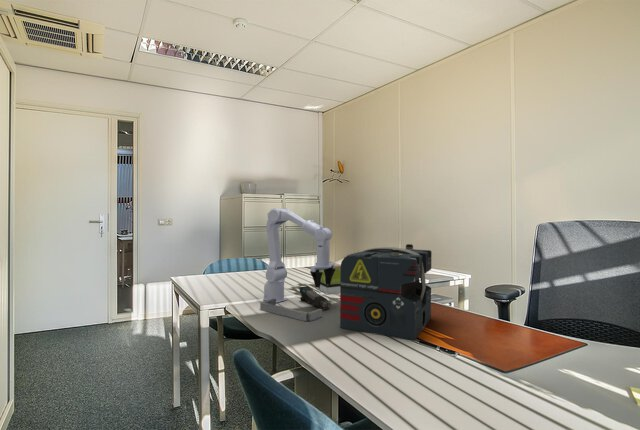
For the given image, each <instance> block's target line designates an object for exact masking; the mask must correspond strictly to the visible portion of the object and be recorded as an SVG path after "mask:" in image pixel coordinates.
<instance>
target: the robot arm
mask: <svg viewBox="0 0 640 430" xmlns="http://www.w3.org/2000/svg"><path fill="white" fill-rule="evenodd" d="M287 221H289V222H291V223H294V224H296V225H298V226H299V227H301V228H302V231H303V232H305V233H307V234H308V235H310V236H312V237H313V238H314V240H315V241H316V263H317V265H316V264H315V265H313V266H311V267H310V272H309V273H310V275H311V277H312V280H313V283H314V287H315V288H316V287H318V288H319V287H320V282H321V276H322V273H323V272H320V271H319V270H324V273H325V282H326V284H328V285H330V284H331V280H332V276H333V274H334V272H335V269H334V263H335V262H334V263H329V262H330V260H331V259H330V254H331V253H330V252H331V251H330V250H331V249H330V248H331V246H330V245H331V244H330V242H331V239H332V237H333V233H332V232H333V231H331V229H330V228H328V227H324V226H323V225H322V224H318V223H316V222H315V220H313V219H311V220H310V219H308V220H305V219H304V218H303V217H301V216H300V215H298V214H296V213H295V212H293V211H292V210H291V209H290V210H289V209H288V208H285V207H284V208H271V209H270V211H269V212H268V213H267V221H266V227H265V228H266V236H267V245H268V256H269V263H268V264H267V265H266V272H265V278H266V280H267V281H266V282H265V283H264V287H263V294H264V295H263V298H262V300H263V301H266V300H270V299H276V304H277V303H281V302H284V301H288V300H289V298H286V297H285V279H286V278H287V277H288V276H287V275H288V271H287V269H286V266H285V265H286V264H285V263H284V262H283V260H282V257H281V256H282V255H281V253H282V252H281V245H280V235H279V228H280V227H281V226H282V225H283V224H285V223H286V222H287Z"/></svg>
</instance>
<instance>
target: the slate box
mask: <svg viewBox="0 0 640 430" xmlns="http://www.w3.org/2000/svg"><path fill="white" fill-rule="evenodd" d="M259 307H260V308H259V309H260V311H264V312H266V313H267V312H268V313H272V314H275V315H279V316H283V317H287V318H291V319H295V320H297V321H302V322H312V321H314V320H317V319H319V318H322V317H323V309H322V308H317V309H315V310H312V311H308V312H305V311H302V310H298V309H293V308H288V307H284V306H281V305H277V303H276V299H270V300H263V301H260V306H259Z"/></svg>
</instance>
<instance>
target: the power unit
mask: <svg viewBox="0 0 640 430" xmlns="http://www.w3.org/2000/svg"><path fill="white" fill-rule="evenodd" d="M413 245H414V244H410V243H407V244H406V245H405V248H401V247H395V246H394V247H393V246H377V247H376V246H375V247H370V248H367V249H363V250H362V251H357V252H353V253H350V254H347V255H346V256H345V257H343V259H342V260H341V261H340V262H341V263H340V265H341V267H340V293H339V296H340V300H339V305H340V307H339V308H340V309H339V311H340V312H339V314H340V315H339V318H340V319H339V328H341V329H345V330H351V331H355V332H356V331H357V332H362V333H368V334H375V335H381V336H386V337H392V338H397V339H401V340H402V339H403V340H407V341H408V340H409V341H416V339H417V338H418V337H419V335H420V334H421V333H422V332H423V330H424V328H425V327H426V326H427V325H428V323H429V321H430V320H431V318H432V287H431V286H429V285H427V283H426V276H425V275H426V274H427V273H428V272H429V271H431V270H432V255H433V254H432V250H429V249H415V248H414V246H413Z"/></svg>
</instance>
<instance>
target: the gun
mask: <svg viewBox="0 0 640 430" xmlns="http://www.w3.org/2000/svg"><path fill="white" fill-rule="evenodd" d="M299 293H300V295H301V296H300V297H299V298H300V299H299V300H300V301H301V302H302V301H305V302H306V303H308V304H314V305H315V306H316V307H317V309H322V311H324V310H325V311H326V310H329V307H331V304H332V303H331V301H329V300H328V299H327V298H326V297H324V296H323V295H321V294H320V293H318V292H316V291H315V290H314V289H313V288H312V287H310V286H308V285H307V286H306V285H305V286H300V287H299Z"/></svg>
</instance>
